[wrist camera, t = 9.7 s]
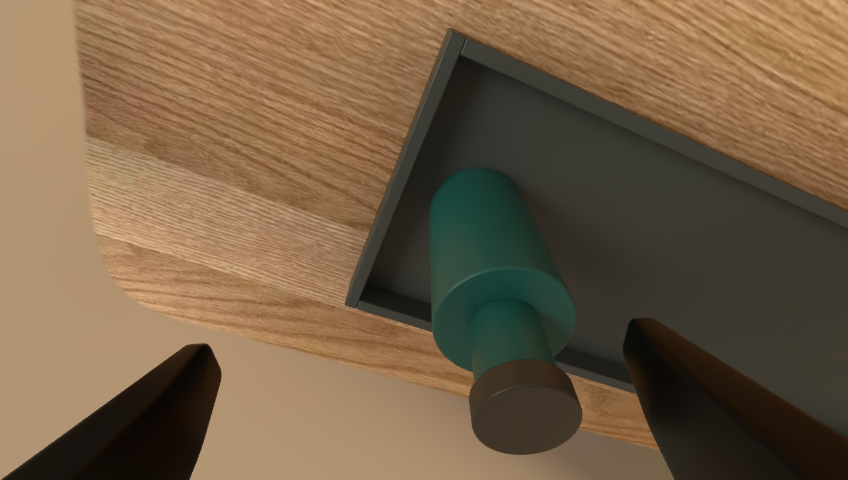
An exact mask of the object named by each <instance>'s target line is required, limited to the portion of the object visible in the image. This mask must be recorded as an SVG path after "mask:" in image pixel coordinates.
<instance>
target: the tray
mask: <svg viewBox="0 0 848 480" xmlns="http://www.w3.org/2000/svg"><path fill="white" fill-rule="evenodd" d="M474 167H484V168H490V169H494V170H497V171H499V172H501V173H503V174H505V175H506V176H507V177H509V178H510V179H511V180H512V181H513V182H514V183H515V185H516V186H517V187H518V189H519V191H520V193H521V195H522V197H523V199H524V201H525V203H526V205H527V208H528V210H529V212H530V214H531V216H532V218H533V220H534V222H535V224H536V226H537V228H538V230H539V232H540V234H541V236H542V238H543V240H544V242H545V244H546V246H547V248H548V250H549V252H550V254H551V256H552V258H553V260H554V262H555V264H556V266H557V268H558V270H559V272H560V274H561V276H562V278H563V280H564V282H565V284H566V286H567V288H568V290H569V292H570V294H571V296H572V298H573V301H574V304H575V309H576V322H575V326H574V330H573V332H572V335H571V337H570V339H569V340H568V342H567V344H566V345H565V346H564V347H563V349H562V350H561V351H560V352H559V353H558V354H557V355H555V356H554V360H555V362H556V365H557V367H558V368H560V369H561V370H562V371H563V372H566V373H569V374H572V375H576V376H579V377H582V378H585V379H589V380H592V381H595V382H599V383H602V384H605V385H608V386H612V387H615V388H618V389H622V390H625V391H628V392H631V393H635V394H637V393H636V390H635V387H634V385H633V382H632V379H631V376H630V374H629V371H628V368H627V365H626V362H625V360H624V356H623V343H624V339H625V335H626V331H627V327H628V324H629V322H630V320H631V319H634V318H653V319H655V320H657V321H658V322H660V323H661V324H663V325H665V326H666V327H668V328H670V329H671V330H673V331H674V332H676V333H678V334H679V335H681V336H682V337H684V338H686V339H687V340H689V341H691V342H692V343H694V344H695V345H697V346H699V347H700V348H702V349H703V350H705V351H707V352H708V353H710V354H712V355H713V356H715V357H716V358H718V359H720V360H721V361H723V362H724V363H726V364H728V365H729V366H731V367H733V368H734V369H736V370H737V371H739V372H741V373H742V374H744V375H745V376H747V377H749V378H750V379H752V380H754V381H755V382H757V383H758V384H760V385H762V386H763V387H765V388H766V389H768V390H770V391H771V392H773V393H775V394H776V395H778V396H779V397H781V398H783V399H784V400H786V401H787V402H789V403H791V404H792V405H794V406H796V407H797V408H799V409H800V410H802V411H804V412H805V413H807V414H808V415H810V416H812V417H813V418H815V419H817V420H818V421H820V422H821V423H823V424H825V425H826V426H828V427H829V428H831V429H833V430H834V431H836V432H838V433H839V434H841V435H842V436H844V437H846V438H847V439H848V211H847V210H845V209H843V208H841V207H839V206H836V205H834V204H832V203H830V202H828V201H826V200H823V199H821V198H819V197H817V196H815V195H813V194H810V193H808V192H806V191H804V190H802V189H799V188H797V187H795V186H793V185H791V184H789V183H786V182H784V181H782V180H780V179H778V178H776V177H773V176H771V175H769V174H767V173H765V172H763V171H760V170H758V169H756V168H754V167H752V166H749V165H747V164H745V163H743V162H741V161H739V160H736V159H734V158H732V157H730V156H728V155H726V154H723V153H721V152H719V151H717V150H715V149H712V148H710V147H708V146H706V145H704V144H702V143H699V142H697V141H695V140H693V139H691V138H689V137H686V136H684V135H682V134H680V133H678V132H675V131H673V130H671V129H669V128H667V127H665V126H662V125H660V124H658V123H656V122H654V121H652V120H649V119H647V118H645V117H643V116H641V115H638V114H636V113H634V112H632V111H630V110H628V109H625V108H623V107H621V106H619V105H617V104H615V103H612V102H610V101H608V100H606V99H604V98H602V97H599V96H597V95H595V94H593V93H591V92H588V91H586V90H584V89H582V88H580V87H578V86H575V85H573V84H571V83H569V82H567V81H565V80H562V79H560V78H558V77H556V76H554V75H551V74H549V73H547V72H545V71H543V70H541V69H538V68H536V67H534V66H532V65H530V64H528V63H525V62H523V61H521V60H519V59H517V58H514V57H512V56H510V55H508V54H506V53H504V52H501V51H499V50H497V49H495V48H493V47H491V46H488V45H486V44H484V43H482V42H480V41H477V40H475V39H473V38H471V37H469V36H467V35H464V34H462V33H460V32H458V31H456V30H454V29H451V28H448V30H447V33H446V35H445V38H444V40H443V43H442V46H441V48H440V51H439V53H438V56H437V59H436V61H435V64H434V66H433V69H432V72H431V74H430V77H429V79H428V82H427V85H426V87H425V90H424V92H423V95H422V98H421V100H420V103H419V105H418V108H417V111H416V113H415V116H414V118H413V121H412V124H411V126H410V129H409V131H408V134H407V136H406V139H405V142H404V144H403V147H402V149H401V152H400V155H399V157H398V160H397V162H396V165H395V168H394V170H393V173H392V175H391V178H390V181H389V183H388V186H387V188H386V191H385V194H384V196H383V199H382V201H381V204H380V207H379V209H378V212H377V214H376V217H375V219H374V222H373V225H372V227H371V230H370V232H369V235H368V238H367V240H366V243H365V245H364V248H363V251H362V253H361V256H360V258H359V261H358V264H357V266H356V269H355V271H354V274H353V277H352V279H351V282H350V286H349V289H348V293H347V297H346V301H345V305H346V306H349V307H352V308H357V309H359V310H362V311H365V312H369V313H372V314H375V315H378V316H382V317H385V318H388V319H392V320H395V321H398V322H401V323H405V324H408V325H411V326H415V327H418V328H421V329H424V330H428V331H431V332H432V311H431V266H430V221H429V208H430V202H431V199H432V197H433V194H434V192H435V191H436V189H437V188H438V186H439V185H440V184H441V183H442V182H443V181H444V180H445V179H446V178H448V177H449V176H451V175H452V174H454V173H456V172H458V171H461V170H464V169H468V168H474Z"/></svg>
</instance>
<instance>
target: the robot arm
mask: <svg viewBox="0 0 848 480" xmlns="http://www.w3.org/2000/svg"><path fill="white" fill-rule="evenodd" d="M623 356H624V360H625V362H626V365H627V368H628V371H629V374H630V376H631V379H632V382H633V385H634V387H635V390H636V393H637V396H638V398H639V401H640V404H641V407H642V410H643V412H644V415H645V418H646V420H647V423H648V425H649V428H650V430H651V432H652V434H653V436H654V438H655V440H656V443H657V445H658V447H659V449H660V451H661V453H662V455H663V457H664V459H665V461H666V463H667V465H668V467H669V469H670V471H671V473H672V475H673V477H674V480H848V439H847V438H846V437H844V436H842V435H841V434H839V433H838V432H836V431H834V430H833V429H831V428H829V427H828V426H826V425H825V424H823V423H821V422H820V421H818V420H817V419H815V418H813V417H812V416H810V415H808V414H807V413H805V412H804V411H802V410H800V409H799V408H797V407H796V406H794V405H792V404H791V403H789V402H787V401H786V400H784V399H783V398H781V397H779V396H778V395H776V394H775V393H773V392H771V391H770V390H768V389H766V388H765V387H763V386H762V385H760V384H758V383H757V382H755V381H754V380H752V379H750V378H749V377H747V376H745V375H744V374H742V373H741V372H739V371H737V370H736V369H734V368H733V367H731V366H729V365H728V364H726V363H724V362H723V361H721V360H720V359H718V358H716V357H715V356H713V355H712V354H710V353H708V352H707V351H705V350H703V349H702V348H700V347H699V346H697V345H695V344H694V343H692V342H691V341H689V340H687V339H686V338H684V337H682V336H681V335H679V334H678V333H676V332H674V331H673V330H671V329H670V328H668V327H666V326H665V325H663V324H661V323H660V322H658V321H657V320H655V319H653V318H634V319H631V320H630V322H629V324H628V327H627V331H626V335H625V339H624V343H623ZM220 382H221V369H220V367H219V364H218V362H217V360H216V358H215V355H214V353H213V351H212V349H211V347H210V346H209V345H208V344H205V343H203V344H190V345H186V346H185V347H183V348H182V349H181V350H179V351H178V352H176V353H175V354H174V355H172V356H171V357H169V358H168V359H167V360H165V361H164V362H163V363H161V364H160V365H158V366H157V367H156V368H154V369H153V370H151V371H150V372H149V373H147V374H146V375H145V376H143V377H142V378H140V379H139V380H138V381H137V382H135V383H134V384H132V385H131V386H129V387H128V388H127V389H125V390H124V391H123V392H121V393H120V394H118V395H117V396H116V397H114V398H113V399H112V400H110V401H109V402H108V403H106V404H105V405H103V406H102V407H101V408H99V409H98V410H96V411H95V412H94V413H92V414H91V415H90V416H88V417H87V418H85V419H84V420H83V421H81V422H80V423H78V424H77V425H76V426H74V427H73V428H72V429H70V430H69V431H67V432H66V433H65V434H63V435H62V436H61V437H59V438H58V439H56V440H55V441H54V442H52V443H51V444H50V445H48V446H47V447H45V448H44V449H43V450H41V451H40V452H39V453H37V454H36V455H34V456H33V457H32V458H31V459H29V460H28V461H26V462H25V463H23V464H22V465H21V466H19V467H18V468H17V469H15V470H14V471H12V472H11V473H10V474H8V475H7V476H6V477H4V478H3V479H2V480H190V477H191V474H192V472H193V469H194V467H195V464H196V462H197V459H198V457H199V454H200V451H201V448H202V445H203V442H204V439H205V435H206V432H207V428H208V425H209V421H210V418H211V414H212V411H213V407H214V403H215V400H216V396H217V393H218V389H219V385H220Z"/></svg>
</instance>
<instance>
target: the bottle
mask: <svg viewBox="0 0 848 480" xmlns="http://www.w3.org/2000/svg"><path fill="white" fill-rule="evenodd" d="M429 221H430V266H431V311H432V332H433V337H434V340H435V342H436V344H437V346H438V348H439V349H440V351H441V352H442V353H443V354H444V356H446V357H447V358H448V359H449V360H450V361H451V362H453V363H454V364H455V365H457V366H459V367H461V368H463V369H465V370H468V371H471V372H473V373H474V381H475V383H474V384H473V386H472V388H471V391H470V394H469V403H470V412H471V422H472V429H473V431H474V433H475V435H476V437H477V438H478V439H479V441H481V442H482V443H483V444H484V445H485V446H487V447H489V448H491V449H493V450H495V451H498V452H502V453H506V454H513V455H527V454H536V453H540V452H544V451H548V450H550V449H553V448H555V447H557V446H559V445H561V444H563V443H564V442H566V441H567V440H568V439H570V438H571V437H572V436H573V435H574V434H575V433H576V431H577V430H578V428H579V426H580V424H581V421H582V408H581V406H580V403H579V400H578V398H577V395H576V393H575V390H574V387H573V385H572V382H571V380H570V378H569V377H568V376H567V374H566V373H565V372H563V371H562V370H561V369H560V368H558V367H557V365H556V362H555V360H554V356H555V355H557V354H558V353H559V352H560V351H561V350H562V349H563V347H564V346H565V345H566V344H567V342H568V340H569V339H570V337H571V335H572V332H573V330H574V326H575V322H576V309H575V304H574V301H573V298H572V296H571V294H570V292H569V290H568V288H567V286H566V284H565V282H564V280H563V278H562V276H561V274H560V272H559V270H558V268H557V266H556V264H555V262H554V260H553V258H552V256H551V254H550V252H549V250H548V248H547V246H546V244H545V242H544V240H543V238H542V236H541V234H540V232H539V230H538V228H537V226H536V224H535V222H534V220H533V218H532V216H531V214H530V212H529V210H528V208H527V205H526V203H525V201H524V199H523V197H522V195H521V193H520V191H519V189H518V187H517V186H516V185H515V183H514V182H513V181H512V180H511V179H510V178H509V177H507V176H506V175H505V174H503V173H501V172H499V171H497V170H494V169H490V168H484V167H474V168H468V169H464V170H461V171H458V172H456V173H454V174H452V175H451V176H449V177H448V178H446V179H445V180H444V181H443V182H442V183H441V184H440V185H439V186H438V188H437V189H436V191H435V192H434V194H433V197H432V199H431V202H430V208H429Z"/></svg>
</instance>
